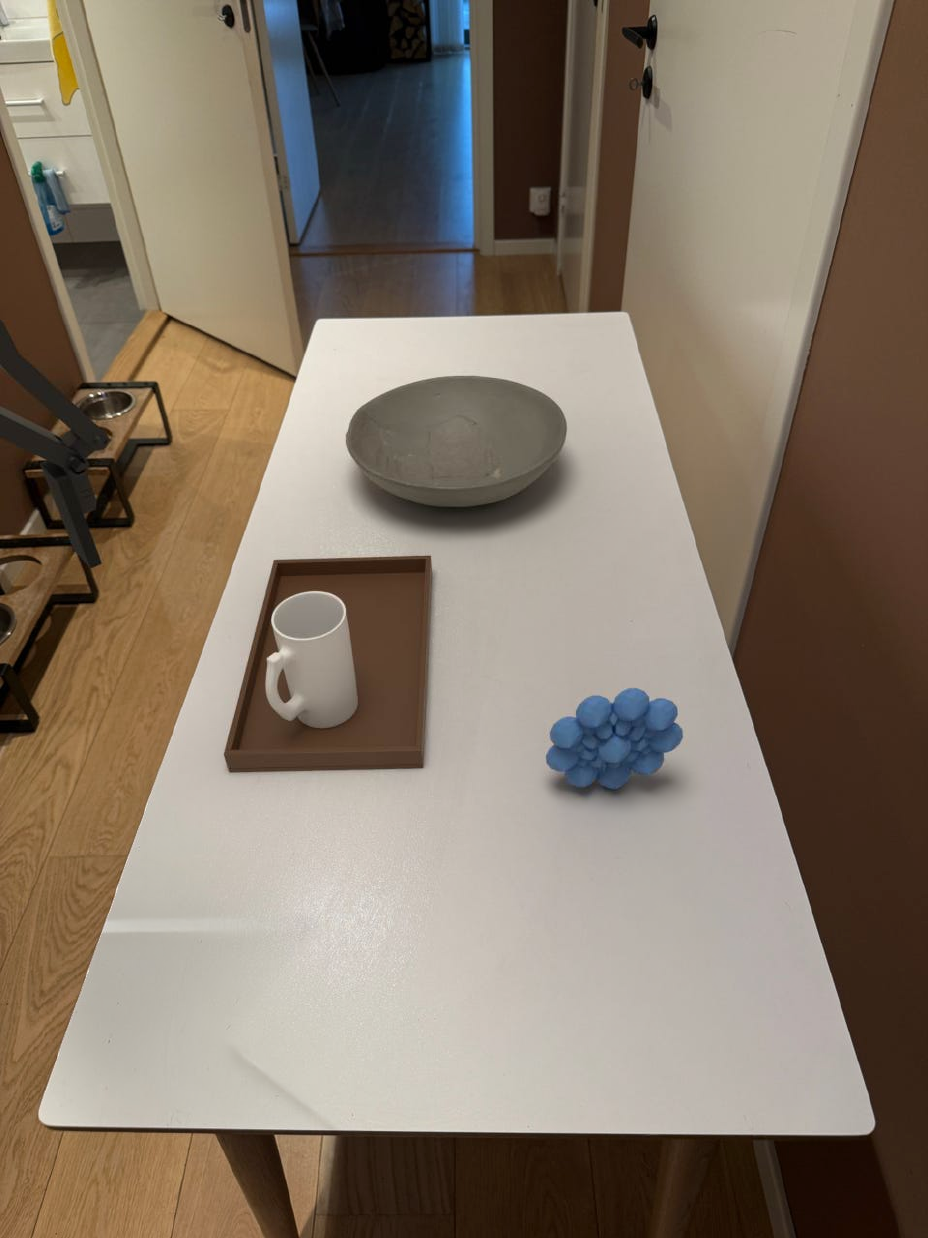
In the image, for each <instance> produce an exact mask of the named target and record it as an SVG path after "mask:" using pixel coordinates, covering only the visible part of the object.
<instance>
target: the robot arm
mask: <svg viewBox="0 0 928 1238" xmlns="http://www.w3.org/2000/svg"><path fill="white" fill-rule="evenodd" d="M0 368H1V369H3V370H4V372H6V373H7V374H8V375H9V376H10V377H11V378H12V379H14V380H15V381H16V382H17V384H19V385H20V386H21V387H23V389H25V390H26V391H27V392H28V393H29V394H30V395H31V396H32V397H34V398H35V399H36V400H37V401H38V402H39V403H41V405H43V406H44V407H45V408H46V409H47V410H48V411H49V412H50V413H51V414H53V415H54V416H55V417H56V418H57V419H58V420H60V421H61V422H62V423H63V424H64V425H65V426H66V427H67V428H69V430H68V431H67V432H66V433H65V434H63V435H62V436H60V435H58V434H56V433H55V432H52V431H50V430H49V429H46V428H45V427H42V426H40V425H38V424H36V423H34V422H32V421H30V420H28V419H26V418H24V417H23V416H21V415H18V414H16V413H15V412H13V411H11V410H9V409H7V408H5V407H2V406H1V405H0V439H2V440H4V441H6V442H7V443H10V444H12V445H15V446H16V447H18V448H21V449H22V450H25V451H27V452H28V453H31V454H33V455H35V456H37V457H39V458H42V459H44V460H45V461H41V462H40V463H39V465H40V468H41V470H42V473H43V475H44V478H45V480H46V483H47V485H48V488H49V490H50V493H51V496H52V498H53V501H54V503H55V506H56V508H57V511H58V514H59V516H60V518H61V521H62V523H63V527H64V528H65V531H66V534H67V536H68V539H69V542H70V543H71V546H72V549H73V551H74V552H75V553H76V554H77V555H78V556H79V558H80V559H81V560H82V561H83V562H84V563H85V564H86V565H87V566H88V567H89V568H90V569H93V568H95V567H98V566H100V565H102V564H103V563H102V559H101V557H100V555H99V552H98V549H97V546H96V543H95V541H94V538H93V535H92V533H91V530H90V528H89V525H88V521H87V520H86V516H85V514H88V513H90V512H93V511H95V510H97V505H98V504H97V503H98V501H97V498H96V496H95V492H94V490H93V487H92V483H91V481H90V479H89V476H88V473H87V472H88V471H89V469H90V463H89V461H88V457H90V455H92V454H93V453H95V452H96V451H103V450H105V449H106V448H107V447H108V446H109V443H110V437H109V435H108V434H107V433H106V432H105V431H104V430H103V429H102V428H101V427H100V426H99V425H97V424H96V422H95V421H93V419H92V418H90V417H89V416H88V415H87V414H86V413H85V412H84V411H83V410H81V409H80V408H79V407H78V406H77V405H76V404H75V403H74V402H73V401H72V400H71V399H70V398H68V397H67V395H65V394H64V393H63V392H62V391H61V390H60V389H59V388H58V387H57V386H56V385H54V384H53V383H52V381H51V380H49V379H48V378H47V377H46V376H45V375H44V374H42V372H41V371H40V370H38V368H36V367H35V366H34V365H33V364H32V363H31V362H30V361H29V360H28V359H27V358H25V357H24V356H23V355H22V354H21V353H20V351H19V349H18V348H17V346H16V344H15V342H14V340H13V339H12V337H11V334H10V332H9V330H8V329H7V326H6V325H5V323H4V322H3V320H1V319H0Z"/></svg>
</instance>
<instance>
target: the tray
mask: <svg viewBox="0 0 928 1238" xmlns="http://www.w3.org/2000/svg"><path fill="white" fill-rule="evenodd" d="M432 585H433V561H432V555H429V554H428V555H403V556H402V555H401V556H400V555H399V556H363V557H359V556H358V557H330V558H329V557H326V558H323V557H322V558H293V559H291V558H289V559H273V561H272V565H271V569H270V573H269V576H268V581H267V585H266V588H265V592H264V596H263V600H262V605H261V608H260V612H259V615H258V620H257V624H256V627H255V630H254V635H253V639H252V642H251V647H250V651H249V655H248V657H247V658H248V659H247V662H246V666H245V671H244V674H243V678H242V681H241V685H240V689H239V694H238V698H237V702H236V706H235V709H234V712H233V717H232V721H231V724H230V729H229V733H228V736H227V740H226V745H225V748H224V752H223V758H224V760H225V763H226V766H227V769H228V772H229V773H243V772H244V773H246V772H249V773H250V772H285V771H286V772H288V771H289V772H290V771H291V772H293V771H335V770H378V769H380V770H381V769H382V770H384V769H386V770H387V769H418V768H419V769H423V768H424V761H425V743H426V741H425V740H426V723H427V722H426V719H427V718H426V717H427V701H428V700H427V699H428V698H427V697H428V679H429V678H428V675H429V655H430V654H429V652H430V632H431V630H430V629H431V612H432V589H433V586H432ZM309 591H321V592H327V593H331V594H333V595H335V596H337V597H338V598H340V599H341V600H342V602H343V603H344V605H345V608H346V615H347V621H348V627H349V634H350V642H351V650H352V657H353V665H354V672H355V679H356V689H357V697H358V705H357V709H356V711H355V713H354V714H353V715H352V716H351V717H350V718H349V719H348V720H347V721H346V722H344V723H342V724H340V725H338V726H335V727H331V728H314V727H310V726H308V725H306V724H304V723H303V722H301V721H300V720H299V718H298V717H297V716H296V717H295V718H294V719H293V720H292V721H288V720H286V719H284V718H282V717H281V716H280V715H279V714H278V713H277V712H276V711H275V710H274V709H273V708H272V707H271V705H270V703H269V701H268V699H267V695H266V687H265V683H266V672H267V658H268V657H269V656H271V655H272V654H273V653H275V652H276V653H279V650H278V646H277V643H276V639H275V635H274V631H273V626H272V622H271V618H272V614H273V612H274V610H275V609H276V607H277V606H278V605H279V604H280V603H281V602H283V601H284V600H286V599H287V598H289V597H291V596H293V595H296V594H299V593H303V592H309ZM277 690H278V694H279V697H280V699H281V700H282V702H283V703H287V702H288V701H289V700H291V695H290V691H289V687H288V684H287V680H286V676H285V672H284V669H283V668H282V670H281V672H280V675H279V678H278V683H277Z"/></svg>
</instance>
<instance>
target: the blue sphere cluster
mask: <svg viewBox="0 0 928 1238" xmlns="http://www.w3.org/2000/svg"><path fill="white" fill-rule="evenodd" d="M678 715H679V713H678V706H677V705H676V704H675V703H674V702H673V701H672V700H671V699H667V698H665V697H662V698H661V697H660V698H659V697H658V698H654V699H652V700H651V701H650V696H649V694H648V693H646V691H645V690H642V689H640V688H637V687H628V688H626V689H624V690H621V691H620V692H619V693H618V694H617V695H615V697H614V700H613V702H611V701H610V699H608V698H607V697H605V696H602V695H599V694H598V695H597V694H596V695H595V694H594V695H593V694H592V695H590V696H587V697H586V698H584V700H581V702H580V703H579V704H578V706H577V708H576V710H575V716H564V717H561V718H559V719H558V720H557V721H556V722H555V723H554V724H553V725H552V726H551V727H550V730H549V739H550V741H551V743H552V744H553V745H552V746H550V747H549V748H548V750H547V753H546V755H545V759H546V760H545V763H546V765H547V766H548V767H549V768H550V770H553V771H555V772H557V773H558V772H559V773H564V779H565V780H566V781H567V783H568V784H569V785H571V786H572V787H575V788H586V787H588V786H590V785H591V784H592V783H593V782H595V780H596V779H597V781H598V782H599V784H600V785H601V786H602V787H605V788H606V789H612V790H615V789H620V788H621V787H623V786H625V784H626V783H628V781H629V780H630V779H631V776H632V774H633V773H635V774H637V775H640V776H651V775H653V774H655V773H656V772H658V770H660V769H661V768H662V766H663V764H664V762H665V754H666V753H667V754H668V753H670V752H672V751H674V750H675V749H676V748H677V747H679V746H680V744H681V742H682V741H683V738H684V732H683V728H682V726H680V725H679V724H678V722H675V721H676V719H677V718H678ZM632 772H633V773H632Z"/></svg>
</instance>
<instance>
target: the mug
mask: <svg viewBox="0 0 928 1238" xmlns="http://www.w3.org/2000/svg"><path fill="white" fill-rule="evenodd" d="M271 622H272V626H273V631H274V635H275V639H276V643H277V646H278V650H279V653H276V652H275V653H273V654H272V655H271V656H269V657H268V658H267V672H266V683H265V687H266V695H267V699H268V701H269V703H270V705H271V707H272V708H273V709H274V710H275V711H276V712H277V713H278V714H279V715H280V716H281V717H282V718H284V719H286V720H288V721H292V720H293V719H294V718H295V717H296V716H297V717H298V718H299V720H300V721H301V722H303V723H304V724H306V725H308V726H310V727H314V728H331V727H335V726H338V725H340V724H342V723H344V722H346V721H347V720H348V719H349V718H350V717H351V716H352V715H353V714H354V713H355V711H356V709H357V705H358V697H357V689H356V679H355V672H354V665H353V657H352V650H351V642H350V634H349V627H348V621H347V615H346V608H345V605H344V603H343V602H342V600H341V599H340V598H338V597H337V596H335V595H333V594H331V593H327V592H321V591H309V592H303V593H299V594H296V595H293V596H291V597H289V598H287V599H286V600H284V601H283V602H281V603H280V604H279V605H278V606H277V607H276V609H275V610H274V612H273V614H272V618H271ZM282 668H283V669H284V672H285V676H286V680H287V684H288V687H289V691H290V695H291V700H289V701H288V702H287V703H283V702H282V700H281V699H280V697H279V694H278V690H277V683H278V678H279V675H280V672H281V670H282Z"/></svg>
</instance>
